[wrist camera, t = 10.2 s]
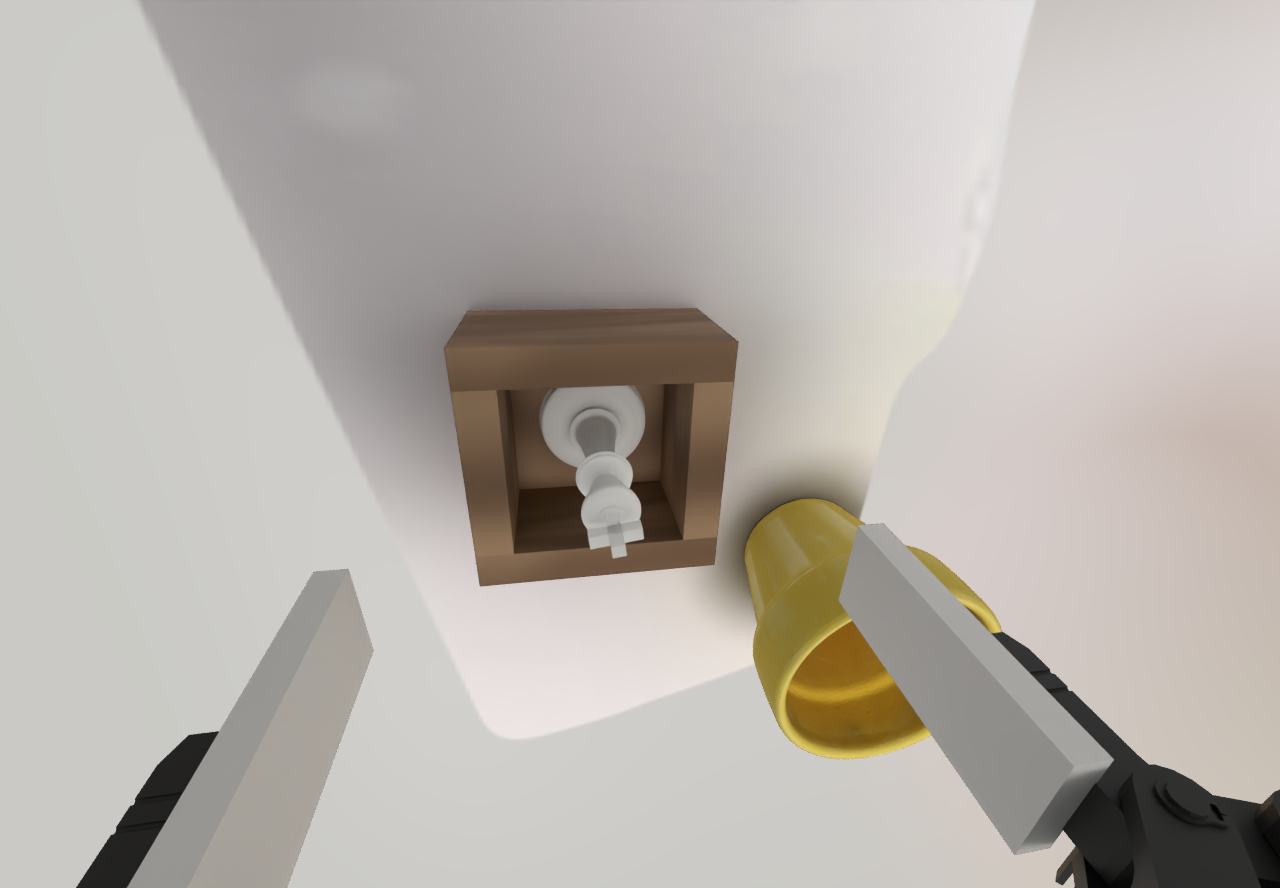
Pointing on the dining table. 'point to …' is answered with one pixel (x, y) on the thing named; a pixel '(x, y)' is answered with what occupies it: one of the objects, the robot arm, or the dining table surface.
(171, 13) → the dining table surface
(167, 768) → the robot arm
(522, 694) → the dining table surface
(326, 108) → the dining table surface
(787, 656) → the plant pot
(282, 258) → the dining table surface
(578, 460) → the chess piece
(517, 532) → the walnut holder
